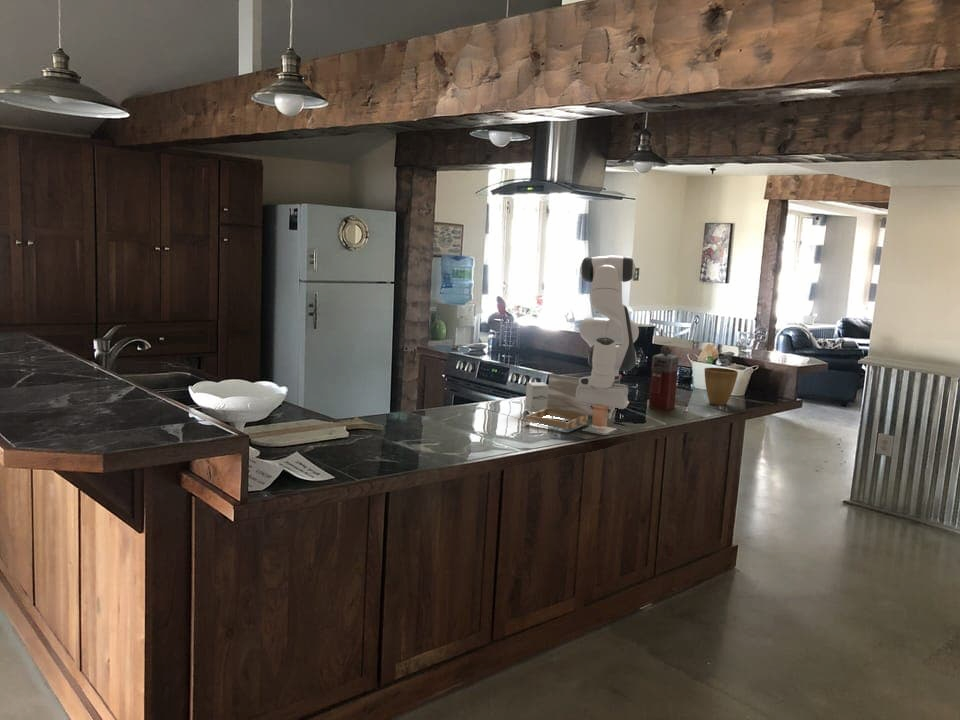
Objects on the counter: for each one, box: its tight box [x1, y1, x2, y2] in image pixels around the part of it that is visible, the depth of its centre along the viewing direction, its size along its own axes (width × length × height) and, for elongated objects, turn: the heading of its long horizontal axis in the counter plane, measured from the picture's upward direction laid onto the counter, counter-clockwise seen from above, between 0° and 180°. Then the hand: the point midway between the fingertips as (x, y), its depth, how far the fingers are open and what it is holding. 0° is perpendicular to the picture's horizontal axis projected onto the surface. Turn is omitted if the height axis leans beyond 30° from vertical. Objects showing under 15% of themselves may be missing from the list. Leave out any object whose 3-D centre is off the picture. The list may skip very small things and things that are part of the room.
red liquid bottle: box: [648, 344, 679, 411], centre depth 344 cm, size 9×11×28 cm
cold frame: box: [525, 373, 590, 429], centre depth 303 cm, size 19×18×18 cm
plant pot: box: [704, 367, 739, 406], centre depth 359 cm, size 15×15×16 cm
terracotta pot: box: [591, 404, 609, 427], centre depth 296 cm, size 6×6×8 cm
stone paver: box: [590, 424, 617, 433], centre depth 297 cm, size 10×10×1 cm
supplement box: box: [524, 381, 549, 412], centre depth 322 cm, size 7×7×13 cm
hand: (600, 416), depth 296 cm, fingers closed on terracotta pot, 6 cm apart
